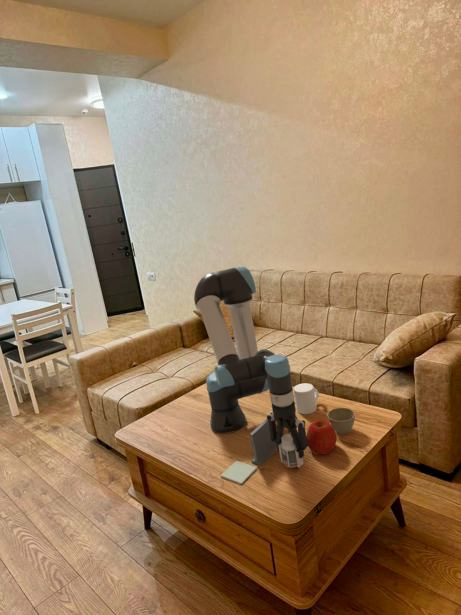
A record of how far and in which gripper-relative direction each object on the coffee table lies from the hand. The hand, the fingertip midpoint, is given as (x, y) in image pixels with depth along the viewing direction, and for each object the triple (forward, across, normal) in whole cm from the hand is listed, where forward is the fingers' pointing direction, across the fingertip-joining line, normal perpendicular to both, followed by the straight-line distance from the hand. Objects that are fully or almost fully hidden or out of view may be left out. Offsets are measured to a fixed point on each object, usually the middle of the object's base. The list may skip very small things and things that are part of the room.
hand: (292, 462), depth 141 cm
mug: (+3, -14, +38) cm, 40 cm away
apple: (+2, +4, +14) cm, 15 cm away
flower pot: (+3, +6, +27) cm, 28 cm away
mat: (+2, -16, -10) cm, 19 cm away
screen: (+2, -12, +3) cm, 13 cm away
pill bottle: (+1, 0, 0) cm, 1 cm away
